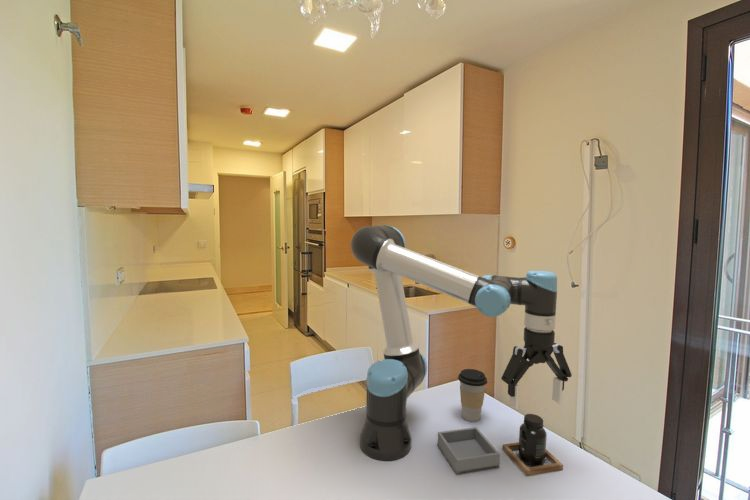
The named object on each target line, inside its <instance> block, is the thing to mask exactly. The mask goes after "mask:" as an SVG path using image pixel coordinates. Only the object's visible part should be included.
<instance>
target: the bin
mask: <svg viewBox="0 0 750 500" xmlns="http://www.w3.org/2000/svg"><path fill="white" fill-rule="evenodd" d="M437 447H438V448H439V450H440V451H441V453H442V455H443V456H444V457H445V460H446V462H448V463H449V466H450V467H451V468H452V470H453V471H454V473H455V474H456V476H458V475H464V474H470V473H477V472H482V471H488V470H494V469H495V470H496V469H499V468H500V459H501V458H500V457H501V453H500V451H498V450H497V449H496V447H494V446H493V444H492V443H490V441H489V440H488V439H487V438H486V436H485V435H484V434H483V433H482V432H481V431H480V430H479V428H478V427H476V426H475V427H468V428H460V429H459V428H458V429H452V430H445V431H438V432H437Z"/></svg>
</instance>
